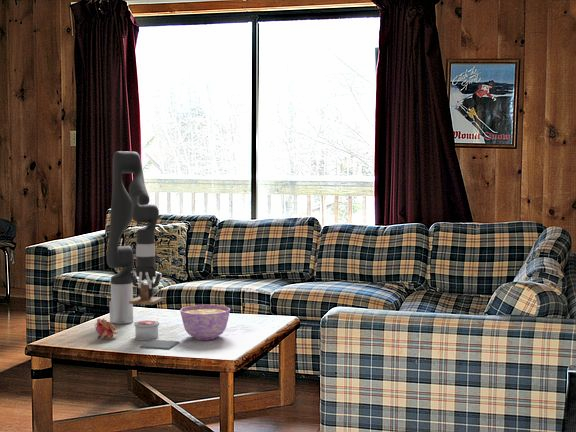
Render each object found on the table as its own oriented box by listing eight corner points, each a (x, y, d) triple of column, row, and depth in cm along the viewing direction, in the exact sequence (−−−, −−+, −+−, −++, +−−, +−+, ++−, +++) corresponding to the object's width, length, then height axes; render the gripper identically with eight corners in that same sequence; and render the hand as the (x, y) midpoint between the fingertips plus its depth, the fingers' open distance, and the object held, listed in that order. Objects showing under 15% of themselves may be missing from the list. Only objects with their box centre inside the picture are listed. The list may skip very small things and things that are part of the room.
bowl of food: (174, 334, 341) (174, 306, 340) (221, 330, 349) (220, 303, 348) (188, 345, 322) (188, 315, 321) (237, 340, 330) (237, 311, 329)
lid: (129, 303, 331) (129, 285, 330) (139, 298, 341) (139, 281, 340) (152, 305, 329) (152, 287, 328) (162, 300, 338) (162, 282, 338)
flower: (92, 338, 328) (104, 321, 328) (86, 328, 335) (98, 312, 336) (111, 348, 333) (123, 332, 333) (105, 339, 340) (117, 323, 341)
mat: (139, 347, 319) (139, 346, 319) (150, 341, 330) (150, 339, 330) (169, 349, 316) (169, 347, 316) (179, 342, 327) (179, 341, 327)
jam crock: (130, 339, 332) (130, 324, 332) (140, 334, 342) (140, 319, 341) (153, 340, 330) (153, 325, 330) (162, 335, 340) (162, 320, 339)
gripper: (125, 255, 331) (125, 298, 333) (158, 256, 328) (158, 300, 329) (133, 252, 338) (133, 294, 340) (165, 254, 335) (166, 296, 337)
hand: (146, 297), depth 335 cm, fingers closed on lid, 3 cm apart
